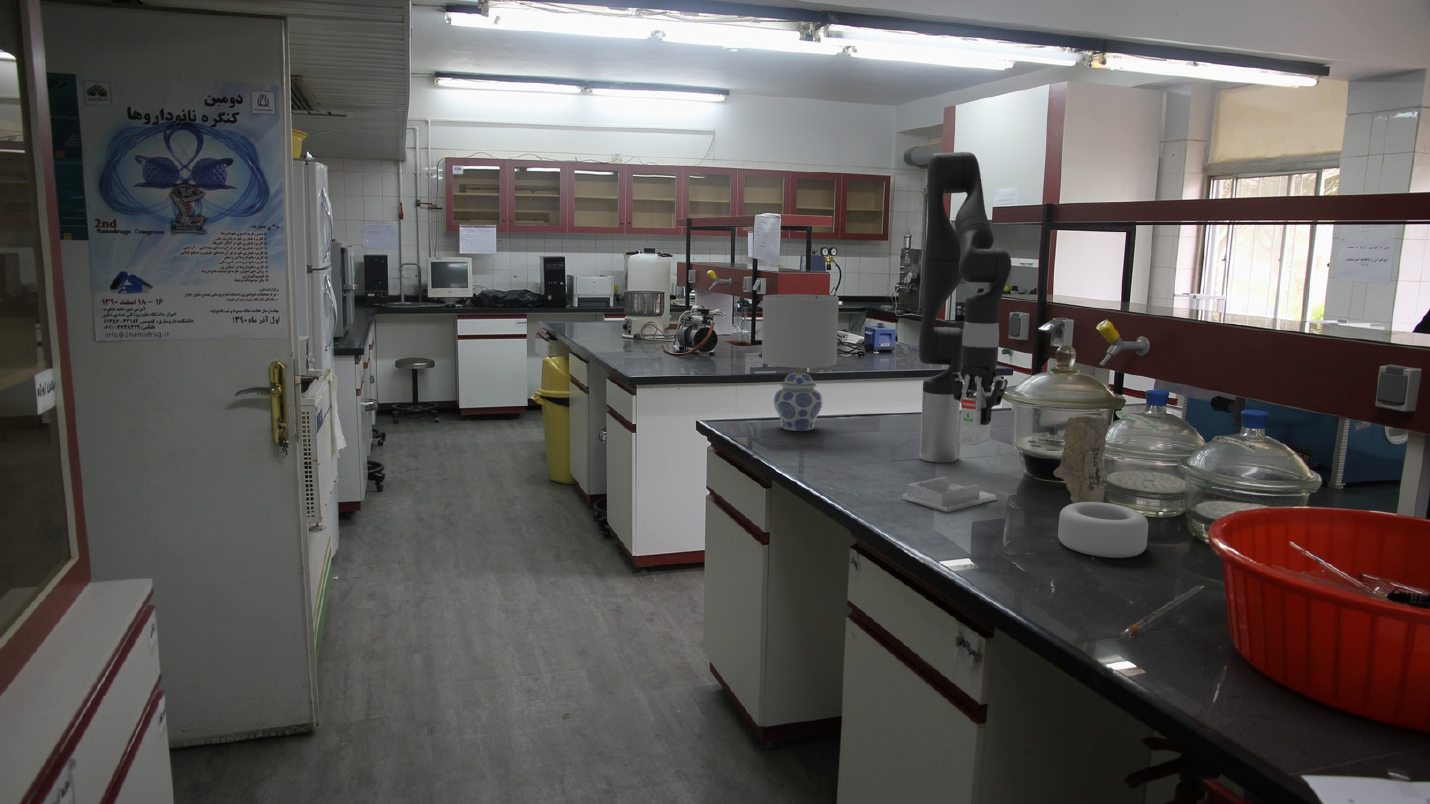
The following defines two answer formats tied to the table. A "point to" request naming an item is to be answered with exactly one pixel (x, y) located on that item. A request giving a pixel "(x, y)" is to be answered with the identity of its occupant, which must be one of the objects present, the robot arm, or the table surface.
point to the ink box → (973, 419)
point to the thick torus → (1103, 529)
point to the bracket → (945, 494)
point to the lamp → (799, 351)
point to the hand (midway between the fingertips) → (975, 422)
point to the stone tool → (1083, 456)
